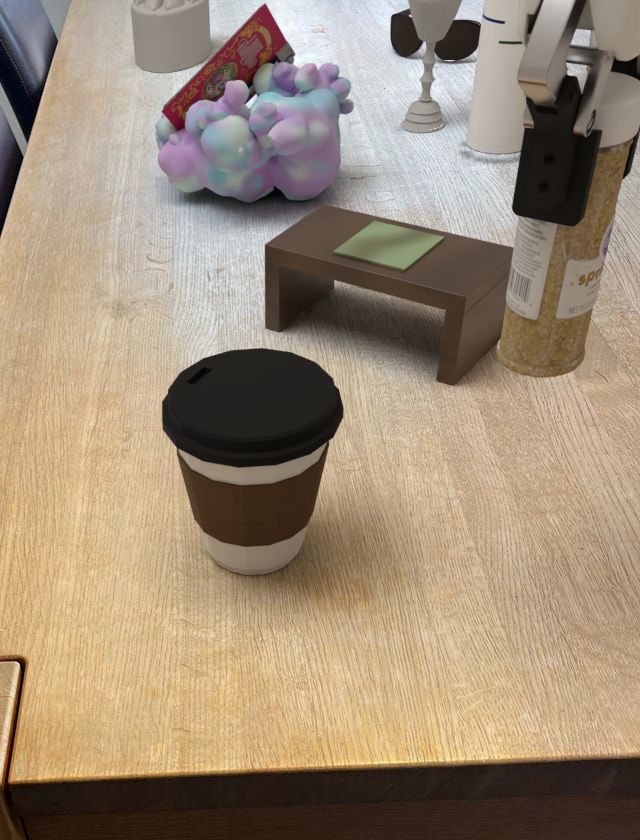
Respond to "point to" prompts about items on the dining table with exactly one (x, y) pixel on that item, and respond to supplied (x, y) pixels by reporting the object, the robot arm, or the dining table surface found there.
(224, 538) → the coffee cup
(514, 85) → the cylindrical container
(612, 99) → the brown spice jar
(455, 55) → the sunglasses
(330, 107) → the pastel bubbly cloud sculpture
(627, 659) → the dining table surface
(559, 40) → the robot arm
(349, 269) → the low table
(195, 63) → the lumpy-topped squat cylinder
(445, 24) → the chalice
